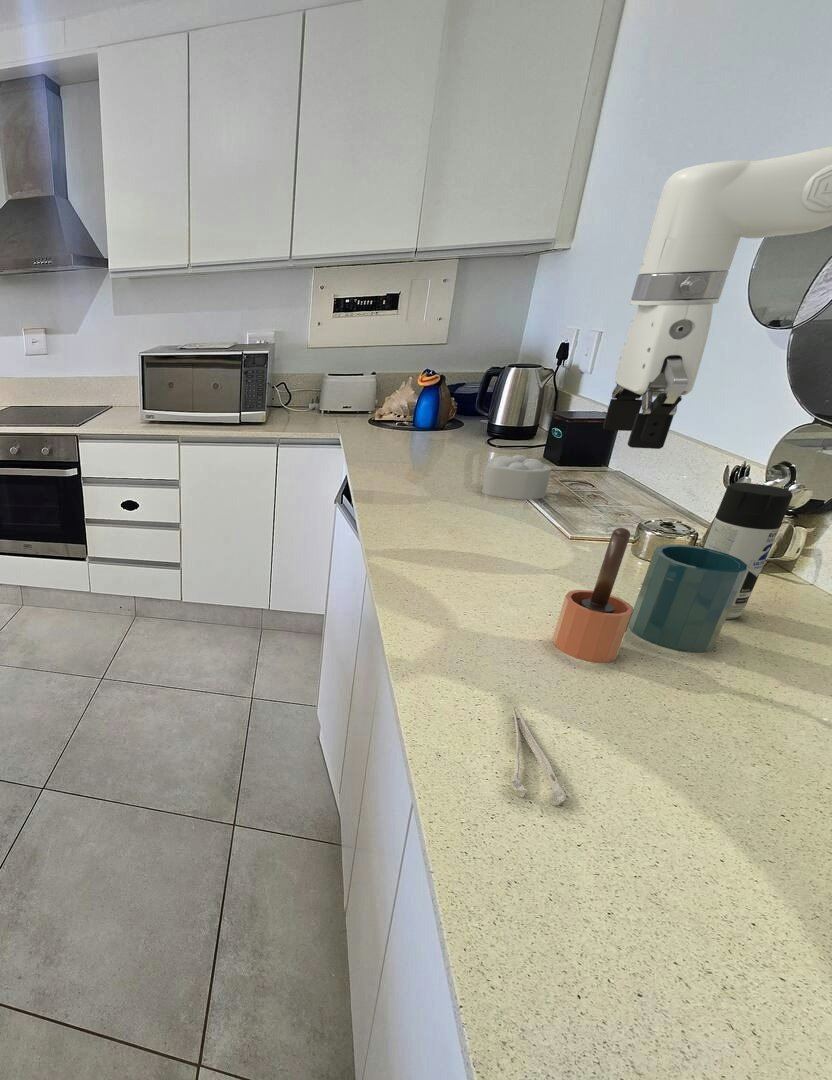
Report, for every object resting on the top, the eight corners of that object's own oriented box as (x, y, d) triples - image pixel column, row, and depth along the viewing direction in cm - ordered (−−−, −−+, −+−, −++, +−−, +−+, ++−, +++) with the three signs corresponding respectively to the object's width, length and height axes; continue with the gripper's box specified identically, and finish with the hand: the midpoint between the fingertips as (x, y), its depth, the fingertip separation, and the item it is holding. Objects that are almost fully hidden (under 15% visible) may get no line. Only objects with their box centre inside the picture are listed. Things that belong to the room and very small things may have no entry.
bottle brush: (595, 643, 83) (635, 524, 76) (603, 656, 80) (645, 534, 73) (565, 638, 84) (601, 521, 77) (571, 651, 81) (610, 531, 74)
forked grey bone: (565, 809, 58) (570, 793, 57) (509, 795, 60) (513, 779, 59) (531, 711, 73) (534, 698, 72) (487, 703, 75) (490, 690, 74)
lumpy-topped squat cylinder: (484, 483, 151) (491, 451, 148) (544, 490, 144) (553, 456, 141) (480, 494, 143) (488, 460, 140) (544, 502, 136) (553, 467, 133)
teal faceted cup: (694, 627, 86) (727, 548, 81) (724, 661, 79) (762, 576, 74) (618, 617, 90) (644, 541, 85) (639, 648, 82) (670, 566, 77)
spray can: (738, 625, 86) (795, 499, 79) (677, 609, 91) (725, 489, 83) (742, 609, 90) (797, 488, 83) (684, 594, 95) (730, 478, 87)
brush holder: (605, 642, 84) (622, 594, 81) (623, 670, 78) (641, 619, 75) (546, 633, 87) (560, 586, 84) (558, 660, 81) (574, 610, 77)
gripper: (761, 289, 57) (699, 457, 64) (687, 288, 71) (643, 425, 78) (663, 293, 60) (614, 453, 67) (611, 291, 74) (575, 423, 81)
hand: (630, 438), depth 72 cm, fingers open, 9 cm apart
